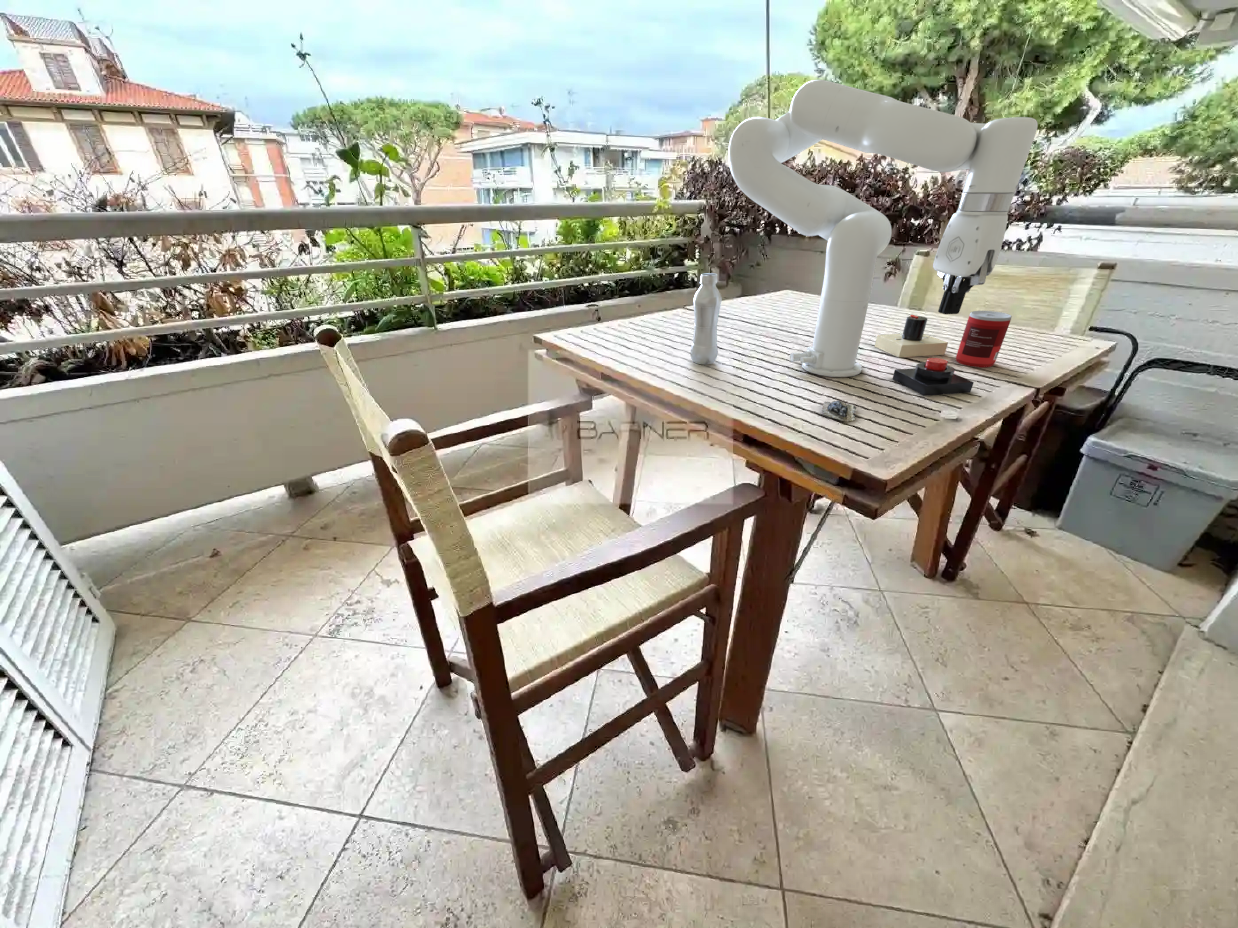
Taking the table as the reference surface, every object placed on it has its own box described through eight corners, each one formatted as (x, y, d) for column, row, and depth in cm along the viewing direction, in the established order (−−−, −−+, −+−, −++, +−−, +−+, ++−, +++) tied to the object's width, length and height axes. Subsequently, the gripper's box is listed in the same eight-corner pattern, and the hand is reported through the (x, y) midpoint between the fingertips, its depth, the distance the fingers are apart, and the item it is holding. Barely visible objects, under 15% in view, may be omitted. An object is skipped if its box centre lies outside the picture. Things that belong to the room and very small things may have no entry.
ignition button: (932, 372, 96) (935, 363, 95) (920, 366, 99) (923, 358, 98) (949, 371, 96) (952, 362, 95) (936, 365, 99) (939, 357, 98)
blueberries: (850, 404, 91) (852, 395, 90) (868, 421, 84) (871, 411, 83) (814, 405, 92) (816, 395, 91) (829, 422, 85) (831, 412, 84)
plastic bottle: (686, 365, 114) (690, 276, 104) (693, 357, 120) (698, 272, 110) (713, 368, 112) (720, 277, 102) (719, 360, 118) (726, 272, 108)
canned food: (982, 357, 115) (998, 310, 109) (1001, 368, 108) (1020, 318, 102) (948, 357, 115) (962, 310, 110) (965, 368, 108) (982, 318, 103)
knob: (925, 340, 118) (932, 318, 116) (909, 341, 118) (915, 319, 115) (913, 335, 122) (919, 314, 119) (897, 336, 121) (903, 315, 119)
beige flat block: (898, 357, 116) (902, 344, 115) (874, 346, 125) (877, 334, 123) (944, 354, 117) (948, 342, 116) (917, 344, 126) (920, 332, 125)
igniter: (923, 396, 94) (929, 376, 92) (891, 379, 103) (896, 361, 101) (970, 392, 95) (977, 373, 93) (935, 376, 104) (940, 358, 102)
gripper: (934, 204, 90) (905, 305, 99) (998, 207, 77) (958, 323, 86) (971, 204, 90) (939, 304, 100) (1040, 206, 78) (996, 322, 87)
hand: (948, 313), depth 93 cm, fingers closed
